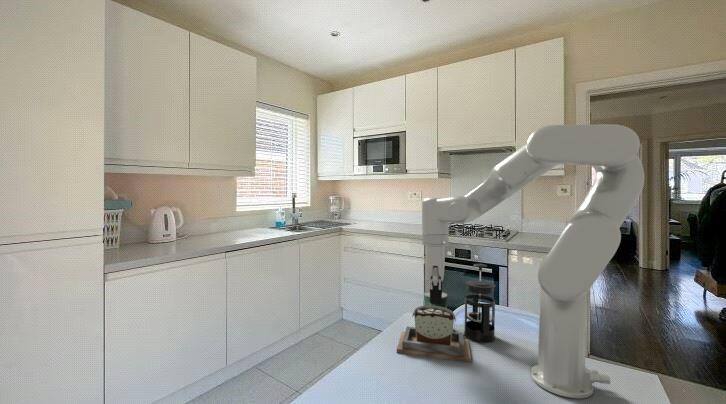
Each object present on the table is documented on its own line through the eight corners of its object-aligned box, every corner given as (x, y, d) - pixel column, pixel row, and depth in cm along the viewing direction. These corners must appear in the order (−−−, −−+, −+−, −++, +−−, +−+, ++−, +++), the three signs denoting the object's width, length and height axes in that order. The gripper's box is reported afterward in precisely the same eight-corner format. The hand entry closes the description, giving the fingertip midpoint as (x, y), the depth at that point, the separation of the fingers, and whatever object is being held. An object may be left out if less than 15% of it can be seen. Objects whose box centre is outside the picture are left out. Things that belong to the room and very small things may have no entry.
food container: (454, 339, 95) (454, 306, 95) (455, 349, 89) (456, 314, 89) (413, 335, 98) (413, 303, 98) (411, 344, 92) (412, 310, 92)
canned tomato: (442, 332, 102) (443, 299, 102) (419, 327, 106) (420, 294, 106) (449, 324, 109) (450, 293, 109) (427, 319, 113) (428, 289, 113)
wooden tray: (467, 342, 96) (467, 332, 95) (471, 362, 84) (471, 351, 84) (402, 334, 100) (402, 325, 100) (396, 352, 89) (396, 341, 89)
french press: (459, 328, 105) (460, 260, 105) (488, 329, 105) (489, 261, 105) (470, 345, 94) (471, 268, 93) (502, 346, 93) (503, 269, 93)
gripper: (424, 236, 101) (424, 289, 101) (420, 243, 84) (421, 307, 84) (448, 236, 99) (449, 291, 99) (449, 244, 82) (450, 309, 82)
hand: (436, 298), depth 92 cm, fingers open, 9 cm apart
